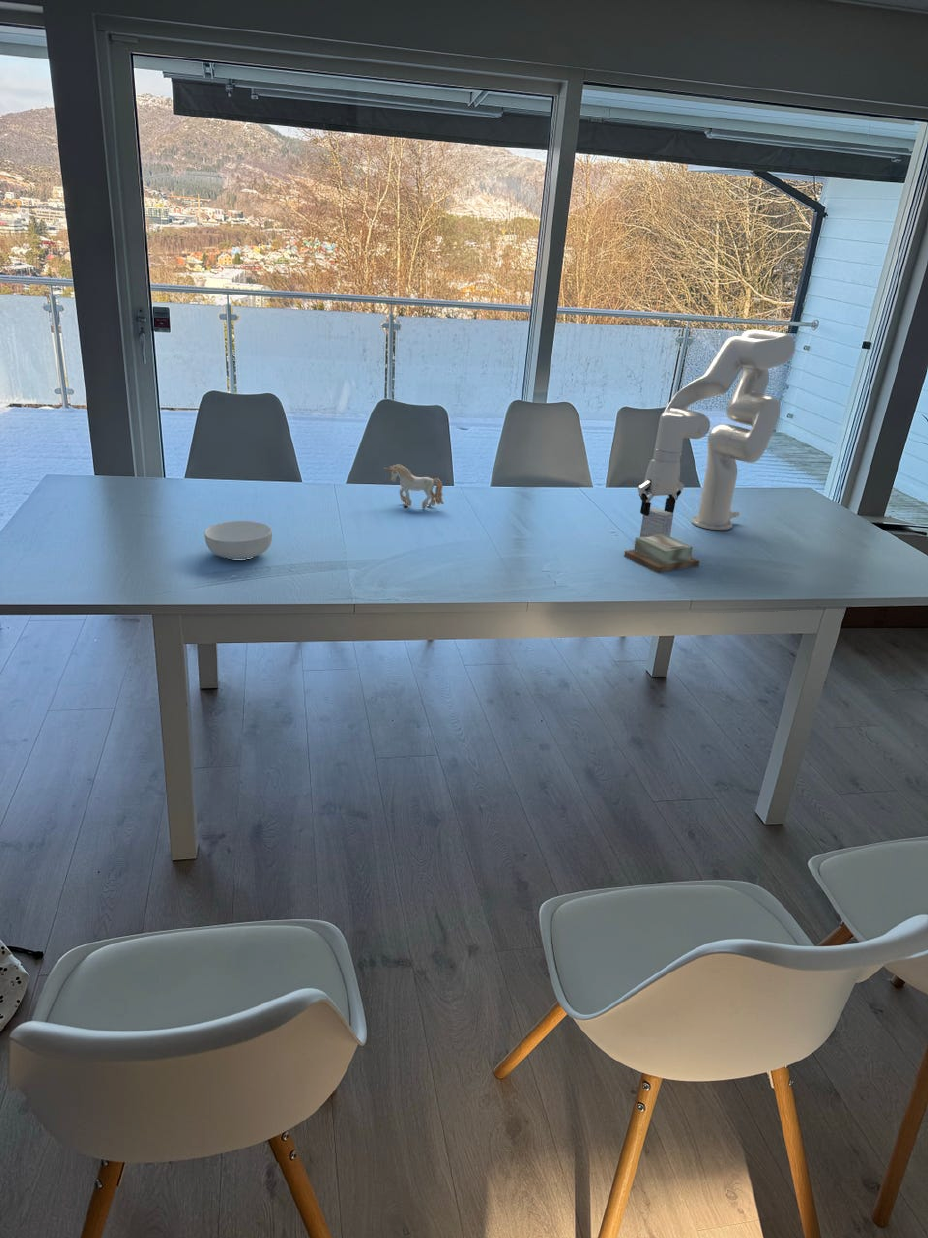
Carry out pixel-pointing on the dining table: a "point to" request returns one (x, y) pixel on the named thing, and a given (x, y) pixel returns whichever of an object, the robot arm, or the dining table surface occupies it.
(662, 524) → the medicine box
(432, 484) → the unicorn figurine
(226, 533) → the cereal bowl
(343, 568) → the dining table surface
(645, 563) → the base board
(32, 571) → the dining table surface
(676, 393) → the robot arm
